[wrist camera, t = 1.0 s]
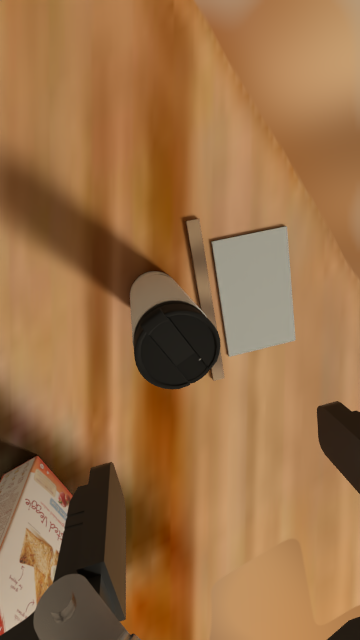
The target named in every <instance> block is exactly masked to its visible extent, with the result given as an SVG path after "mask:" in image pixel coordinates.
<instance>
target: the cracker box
mask: <svg viewBox="0 0 360 640" xmlns="http://www.w3.org/2000/svg"><path fill="white" fill-rule="evenodd" d="M72 497H73V495H72V494H71V493H70V492H69V491H68V489H67V488H66V487H65V486H64V485H63V484H62V483H61V481H60V480H59V479H58V478H57V477H56V476H55V475H54V473H53V472H52V471H51V470H50V469H49V468H48V467H47V465H46V464H45V463H44V462H43V461H42V460H41V459H40V457H39V456H36V457H34V458H32V459H30V460H28V461H27V462H25V463H23V464H21V465H20V466H18V467H16V468H14V469H13V470H11V471H9V472H7V473H6V474H4V475H3V477H2V478H1V480H0V636H1V635H2V634H4V633H5V632H7V631H8V630H10V629H11V628H13V627H14V626H16V625H17V624H19V623H20V622H22V621H23V620H24V619H26V618H27V617H28V616H30V615H31V614H32V613H33V612H34V611H35V609H36V606H37V604H38V602H39V600H40V598H41V597H42V595H43V594H44V592H45V591H46V590H47V589H48V588H49V587H50V585H52V584H53V580H54V576H55V571H56V566H57V561H58V556H59V551H60V546H61V542H62V537H63V532H64V531H65V528H64V527H65V522H66V518H67V512H68V507H69V502H70V500H71V498H72Z"/></svg>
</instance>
